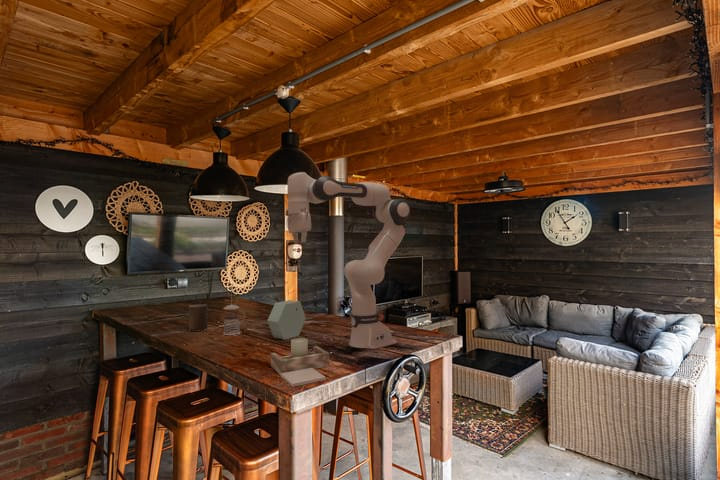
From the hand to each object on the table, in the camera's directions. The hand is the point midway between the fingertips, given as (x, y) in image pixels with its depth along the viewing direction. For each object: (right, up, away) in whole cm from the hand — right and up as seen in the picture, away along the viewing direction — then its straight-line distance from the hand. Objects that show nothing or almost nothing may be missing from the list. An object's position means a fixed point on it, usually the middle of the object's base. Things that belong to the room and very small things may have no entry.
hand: (299, 242), depth 163 cm
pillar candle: (-65, -49, +51) cm, 96 cm away
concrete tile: (+5, -47, -28) cm, 55 cm away
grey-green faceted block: (-12, -48, +33) cm, 60 cm away
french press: (-42, -49, +41) cm, 76 cm away
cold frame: (+2, -47, -15) cm, 50 cm away
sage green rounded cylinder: (+2, -47, -15) cm, 50 cm away
